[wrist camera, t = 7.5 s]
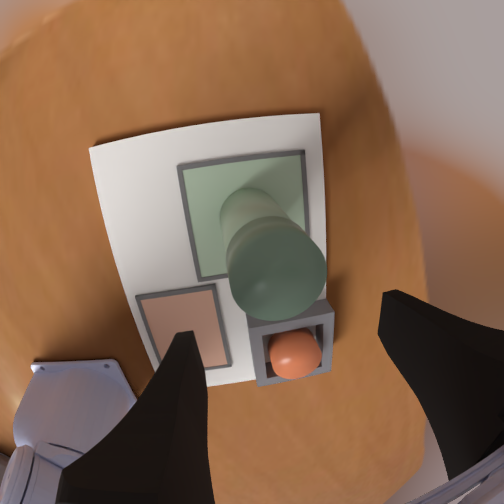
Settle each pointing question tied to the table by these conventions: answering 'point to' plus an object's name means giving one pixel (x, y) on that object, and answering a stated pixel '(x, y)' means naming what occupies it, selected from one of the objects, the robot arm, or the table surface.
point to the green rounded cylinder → (269, 257)
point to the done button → (294, 353)
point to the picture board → (209, 233)
